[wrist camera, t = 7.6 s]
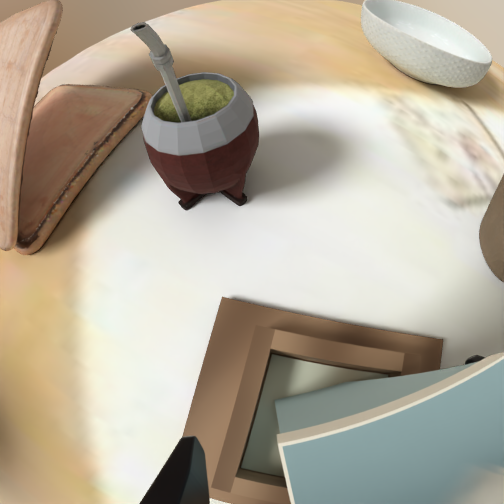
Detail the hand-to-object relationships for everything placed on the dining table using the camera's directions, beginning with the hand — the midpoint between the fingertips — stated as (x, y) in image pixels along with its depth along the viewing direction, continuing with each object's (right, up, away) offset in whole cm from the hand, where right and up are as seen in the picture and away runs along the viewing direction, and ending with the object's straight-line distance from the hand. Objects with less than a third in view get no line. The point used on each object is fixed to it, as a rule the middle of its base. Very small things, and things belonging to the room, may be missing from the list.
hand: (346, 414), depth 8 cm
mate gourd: (-5, +9, +14) cm, 18 cm away
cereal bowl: (+18, +28, +21) cm, 40 cm away
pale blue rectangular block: (+1, -4, +6) cm, 8 cm away
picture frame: (+1, -5, +7) cm, 9 cm away
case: (-25, +15, +19) cm, 35 cm away
